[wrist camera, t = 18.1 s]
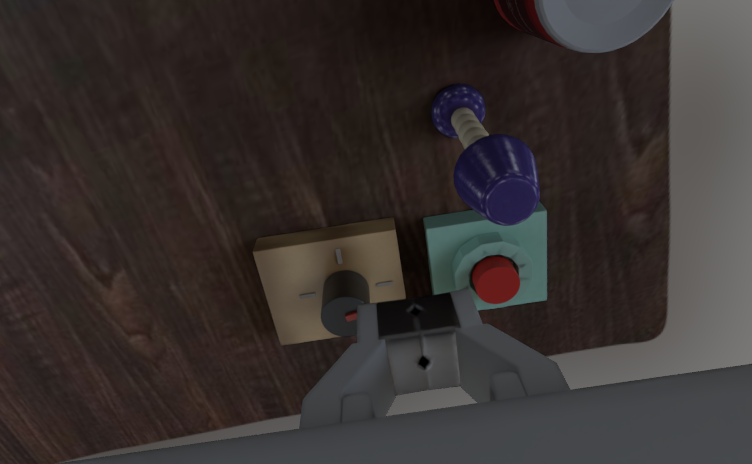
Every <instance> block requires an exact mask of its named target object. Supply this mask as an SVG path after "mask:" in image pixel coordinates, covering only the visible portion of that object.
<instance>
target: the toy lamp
mask: <svg viewBox="0 0 752 464" xmlns="http://www.w3.org/2000/svg"><path fill="white" fill-rule="evenodd" d="M484 116H485V102H484V99H483V97H482V95H481V94H480V93H479V92H478V91H477V90H476V89H475V88H473V87H472V86H469V85H466V84H455V85H452V86H449V87H447V88H445V89H444V90H442V91H441V92H440V93H439V94H438V95H437V96H436V98H435V100H434V102H433V105H432V109H431V117H432V121H433V124H434V126H435V127H436V128H437V130H438V131H439V132H440V133H442V134H443V135H445V136H447V137H450V138H459V139H460V141H461V142H462V144H463V147H464V149H465V150H464V151H463V153H462V154H461V155H460V157H459V159H458V161H457V163H456V166H455V170H454V184H455V188H456V190H457V192H458V194H459V196H460V197H461V199H462V200H463V201H464V202H465V203H466V204H467V205H468V206H469V207H471V208H472V209H473V210H475V211H476V212H477V213H479V214H480V215H481V216H483V217H484V218H486V219H487V220H489V221H490V222H492V223H494V224H497V225H502V226H511V225H516V224H519V223H521V222H523V221H525V220H526V219H527V218H529V217H530V216H531V215H532V213H533V212H534V211H535V209H536V208H537V205H538V202H539V194H540V191H539V180H538V172H537V166H536V161H535V158H534V156H533V154H532V152H531V150H530V149H529V147H528V146H527V145H526V144H525V143H524V142H522V141H521V140H519V139H517V138H514V137H512V136H508V135H502V134H495V135H489V134H488V133H487V131H485V130H484V127H483V126H482V122H483V120H484Z"/></svg>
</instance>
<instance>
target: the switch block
mask: <svg viewBox="0 0 752 464" xmlns="http://www.w3.org/2000/svg"><path fill="white" fill-rule="evenodd" d="M423 223H424V231H425V239H426V247H427V255H428V263H429V271H430V279H431V287H432V295H435V294H441V293H447V292H451V291H456V290H462V289H467V288H468V289H469V290H470V292H471V294H472V297H473V300H474V303H475V305H476V308H477V310H483V309H493V308H500V307H506V306H510V305H517V304H523V303H530V302H537V301H544V300H547V210H546V209H545V208H544V207H543V205H542V204H541V203H540V202H538V205H537V208H536V209H535V211H534V212H533V213H532V215H531V216H530V217H529V218H527V219H526V220H525V221H523V222H521V223H519V224H516V225H511V226H502V225H497V224H494V223H492V222H490V221H489V220H487V219H486V218H484V217H483V216H481V215H480V214H479V213H477V212H476V211H475V210H469V211H462V212H456V213H450V214H443V215H437V216H430V217H424V218H423ZM492 256H499V257H503V258H506V259H507V260H509V261H510V262H511V263H512V265H513V266H514V268H515V270H516V272H517V274H518V276H519V278H520V288H519V290H518V292H517V294H516V295H515V296H514V297H513V298H512V299H510V300H509V301H507V302H504V303H501V304H490V303H487V302H485V301H483V300H482V299H481V298H480V297H479V296H478V294H477V292H476V289H475V287H474V284H473V281H472V272H473V270H474V268H475V266H476V265H477V264H478V263H479V262H480V261H482V260H483V259H485V258H488V257H492Z"/></svg>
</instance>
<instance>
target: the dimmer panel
mask: <svg viewBox="0 0 752 464" xmlns="http://www.w3.org/2000/svg"><path fill="white" fill-rule="evenodd" d="M253 255H254V259H255V262H256V265H257V269H258V272H259V275H260V278H261V282H262V285H263V288H264V292H265V295H266V298H267V302H268V305H269V308H270V312H271V315H272V318H273V321H274V325H275V328H276V331H277V335H278V338H279V341H280V345H287V344H294V343H301V342H308V341H314V340H321V339H328V338H334V337H341V336H337V335H334V334H332V333H330V332H329V331H328V330H327V329H326V328H325V327H324V326H323V324H322V322H321V307H322V295H323V286H324V283H325V281H326V280H327V278H328V277H329V276H331V275H332V274H334V273H336V272H338V271H343V270H350V271H354V272H357V273H359V274H361V275H362V276H363V277H364V278H365V279H366V280H367V282H368V285H369V292H370V303H376V304H377V302H384V301H392V300H400V299H406V295H405V288H404V282H403V275H402V268H401V262H400V255H399V249H398V242H397V236H396V229H395V223H394V218H393V217H390V218H384V219H378V220H371V221H365V222H358V223H352V224H346V225H339V226H333V227H326V228H320V229H314V230H307V231H301V232H294V233H288V234H282V235H275V236H269V237H262V238H257V241H256V244H255V247H254V249H253Z"/></svg>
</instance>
